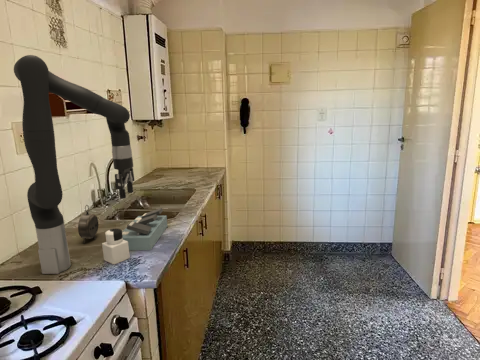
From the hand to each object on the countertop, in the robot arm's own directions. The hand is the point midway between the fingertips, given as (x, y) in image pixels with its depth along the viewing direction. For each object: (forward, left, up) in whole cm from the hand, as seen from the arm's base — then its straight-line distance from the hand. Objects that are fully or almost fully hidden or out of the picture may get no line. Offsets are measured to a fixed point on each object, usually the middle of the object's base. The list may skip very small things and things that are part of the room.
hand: (126, 195), depth 142 cm
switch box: (+9, -2, -22) cm, 24 cm away
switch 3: (0, -4, -14) cm, 15 cm away
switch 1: (+18, -4, -14) cm, 23 cm away
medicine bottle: (-13, +2, -22) cm, 26 cm away
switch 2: (+9, -4, -14) cm, 17 cm away
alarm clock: (+7, +22, -22) cm, 32 cm away
